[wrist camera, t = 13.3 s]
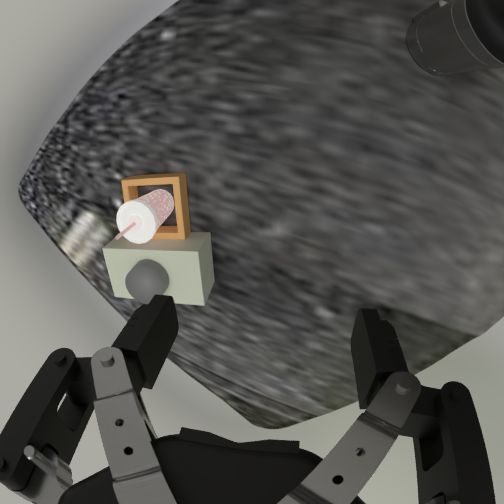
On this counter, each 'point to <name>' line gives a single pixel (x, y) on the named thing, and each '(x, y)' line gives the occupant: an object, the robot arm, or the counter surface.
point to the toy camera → (162, 253)
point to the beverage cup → (144, 216)
